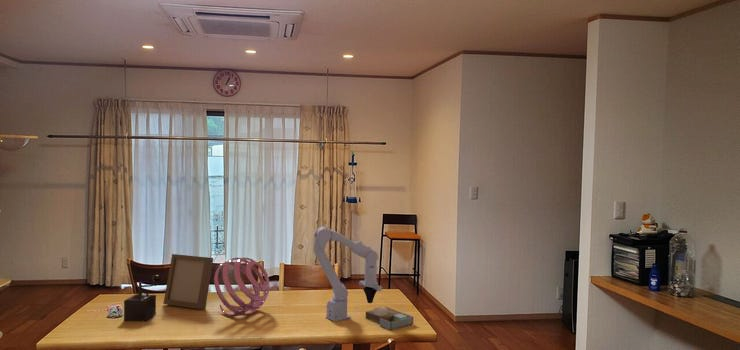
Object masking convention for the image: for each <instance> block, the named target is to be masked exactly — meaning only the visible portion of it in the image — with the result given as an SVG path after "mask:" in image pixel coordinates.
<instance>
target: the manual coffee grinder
mask: <svg viewBox="0 0 740 350" xmlns="http://www.w3.org/2000/svg"><path fill="white" fill-rule="evenodd" d="M161 279H162V276H160V275H159V274H154V275H153V276H152V281H153V283H152V284H144V285H143V283H142V281H139V282H138V293H135V294H134V295H132V296H130V297H129V298H126V299H124V301H123V321H124V322H148V321H149V320H150V319H152V318H154V316H156V314H157V311H156V310H157V299H156V298H157V295H156V294H149V293H145V292H142V288H149V287H156V286H158V285H160V280H161Z"/></svg>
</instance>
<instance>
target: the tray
mask: <svg viewBox="0 0 740 350" xmlns="http://www.w3.org/2000/svg"><path fill="white" fill-rule="evenodd" d="M401 314H403V315H406V316H408V318H404V319H401V320H397V321H392V322H389V321H387V320H384V319H382V318H380V324H379V327H381V328H384V329H385V330H388V331H390V332H391V331H395V329H396V330H399V329H403V328H406V327H409V326H408V325H410V326H413V325H414V316H412V315H411V314H407V313H404V312H401ZM412 324H413V325H412ZM405 326H406V327H405ZM402 327H403V328H402ZM398 328H399V329H398Z"/></svg>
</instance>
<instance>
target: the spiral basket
mask: <svg viewBox="0 0 740 350" xmlns="http://www.w3.org/2000/svg"><path fill="white" fill-rule="evenodd" d="M235 260H236V261H235ZM241 263H244V264H245V266H243V265H242V264H241ZM229 266H233V274H234V279H235V283H236V284H237V286H238V288H239V290H240V291H241V292H243V294H244V295H245V296H246V297H247V298H249V299H250V301H249V302H248V303H247V302H245V301H243V299H241V298H240V297H239V296H238V294H237V293H236V292H235V290H234V289H233V287H232V285H231V284H232V283H231V282H230V279H229V273H228V272H229ZM256 266H257V267H258V268H259V269H260V270H259V269H258V268H257V267H256ZM222 267H223V269H222V280H223V284H224V286H225V289H226V291H227V293H228V295H229V296H230V298H231V299H232V300H233V301H234V302H235V303H236V304H237V305H233V304H231V303H230V302H229V301H228V300H227V299H226V297H225V295H224V294H223V292H222V290H221V287H220V282H219V272H220V270H221V268H222ZM240 271H241V272H242V274H244V275H245V277H247V279H248V280H249V282H250V284H251V285H252V288H253V291H254V293H253V292H252V291H251V290H250V289H249V288H248V287H247V286H246V284H245V283H244V281H243V279H242V275H241V272H240ZM252 271H253V272H254V273H255V275H256V276H257V277H258V280H259V282H258V281H257V280H256V278H255V276H254V275H253V272H252ZM260 271H261V272H262V274H263V276H264V277H263V276H262V274H261V272H260ZM213 282H214V288H215V291H216V294H217V296H218V298H219V300H220V302H221V303H222V304H223V305H224V307H225V308H227V310H228V311H230V312H232V314H231V313H228V312H226V311H225V310H224V308H223V306H222V305H221V304H219V308H220V311H221V312H222V314H224V315H226V317H241V316H242V317H246V316H250V315H252V314H254V313H255V312H257V310H259V309H261V308H262V306H263V305H264V304H265V302H266V300H267V298H268V296H269V293H270V288H271V287H270V286H271V285H270V278H269V275H268V272H267V270H266V268H264V266H263V265H261V263H259V262H257V261H256V260H254V259H253V258H250V257H232V258H229V259H228V260H227V261H224V262H222V263H221V264H220V265H218V267H217V268H216V270H215V271H214V276H213ZM261 291H262V293H263V295H261V294H260V293H261ZM249 311H250V312H249Z"/></svg>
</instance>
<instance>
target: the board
mask: <svg viewBox="0 0 740 350" xmlns="http://www.w3.org/2000/svg"><path fill="white" fill-rule="evenodd" d="M383 308H386V309H388V315H384V316H377V315H375V314H374V309H372V310H368V311H365V319H366V318H367V320H369V321H371V320H372V322H373V323H376V324H379V325H380V318H382V319H384V320H387V321H389V322H392V321H393V320H394V315H397V314H401V313H402V312H401V311H398V310H396V309H393V308H390V307H387V306H386V307H385V306H384V307H383Z"/></svg>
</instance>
